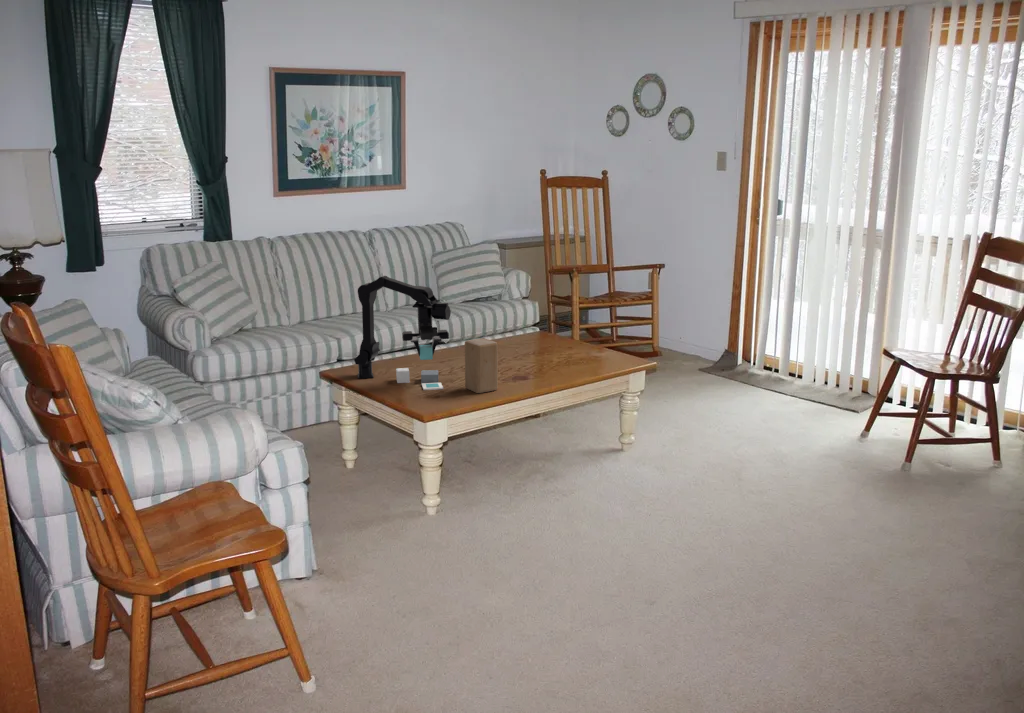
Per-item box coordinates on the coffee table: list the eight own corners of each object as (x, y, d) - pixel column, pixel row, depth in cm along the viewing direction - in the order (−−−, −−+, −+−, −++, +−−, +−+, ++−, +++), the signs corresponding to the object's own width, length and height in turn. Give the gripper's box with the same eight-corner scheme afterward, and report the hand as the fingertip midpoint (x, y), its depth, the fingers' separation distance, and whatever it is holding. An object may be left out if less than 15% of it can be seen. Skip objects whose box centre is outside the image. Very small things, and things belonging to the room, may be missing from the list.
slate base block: (421, 379, 377) (421, 370, 376) (438, 379, 378) (438, 370, 377) (421, 384, 371) (421, 374, 370) (438, 383, 371) (438, 374, 370)
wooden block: (478, 394, 356) (477, 345, 351) (464, 388, 364) (463, 340, 359) (498, 390, 362) (498, 341, 357) (484, 384, 369) (484, 337, 364)
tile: (421, 384, 369) (421, 383, 368) (441, 383, 370) (441, 382, 370) (423, 390, 361) (423, 388, 361) (443, 389, 363) (443, 387, 362)
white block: (396, 380, 376) (396, 368, 375) (408, 379, 377) (408, 367, 376) (397, 383, 371) (397, 371, 370) (409, 382, 372) (409, 371, 371)
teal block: (419, 357, 372) (419, 345, 371) (431, 356, 373) (431, 344, 372) (420, 360, 367) (420, 348, 366) (432, 359, 368) (432, 347, 367)
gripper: (403, 323, 357) (404, 361, 361) (449, 321, 360) (450, 359, 364) (401, 317, 368) (402, 355, 371) (447, 316, 371) (447, 352, 374)
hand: (426, 355), depth 370 cm, fingers closed on teal block, 5 cm apart
